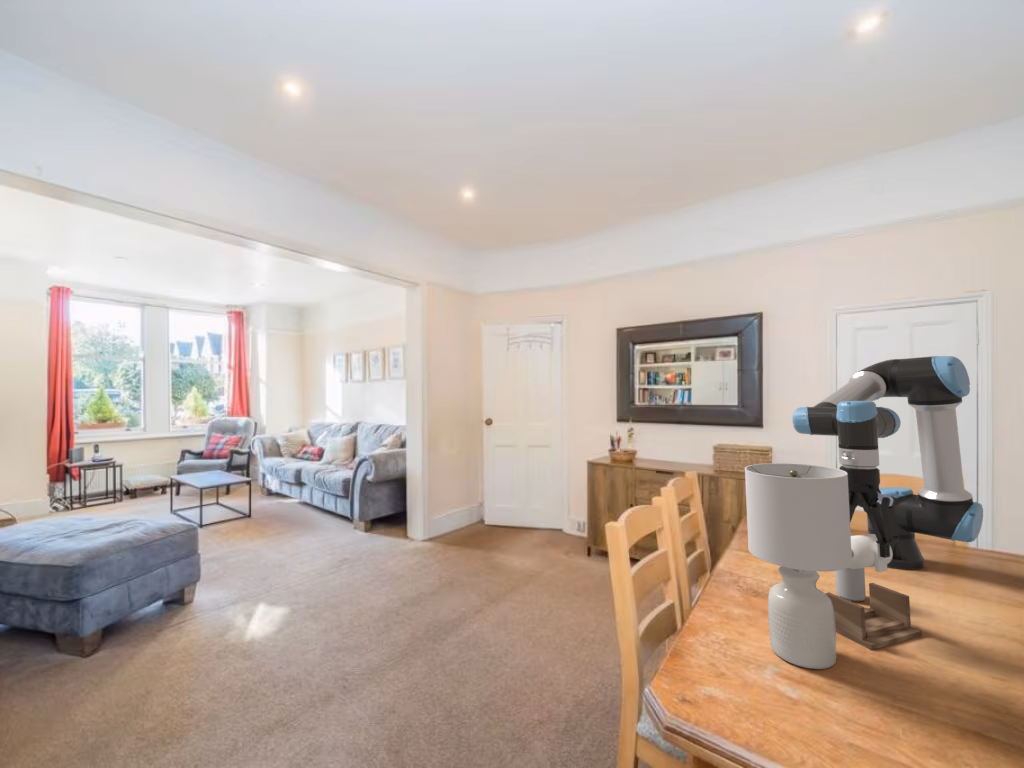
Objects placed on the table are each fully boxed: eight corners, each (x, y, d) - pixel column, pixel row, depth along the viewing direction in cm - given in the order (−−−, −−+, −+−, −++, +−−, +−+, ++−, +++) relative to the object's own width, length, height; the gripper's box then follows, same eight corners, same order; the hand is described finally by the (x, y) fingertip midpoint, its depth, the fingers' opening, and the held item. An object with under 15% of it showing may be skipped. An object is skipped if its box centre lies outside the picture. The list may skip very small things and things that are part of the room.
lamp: (737, 631, 106) (729, 464, 107) (818, 630, 106) (810, 462, 106) (782, 683, 87) (773, 479, 88) (882, 681, 87) (871, 476, 88)
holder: (866, 611, 113) (864, 579, 114) (921, 635, 102) (919, 599, 102) (818, 623, 109) (816, 589, 109) (871, 649, 97) (869, 612, 97)
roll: (861, 559, 110) (861, 530, 111) (892, 570, 104) (892, 539, 104) (833, 562, 108) (833, 532, 108) (863, 573, 101) (864, 542, 101)
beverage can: (871, 603, 117) (869, 557, 118) (843, 602, 119) (841, 556, 119) (857, 592, 124) (855, 548, 124) (831, 591, 125) (829, 547, 125)
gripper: (807, 461, 115) (812, 553, 114) (894, 474, 96) (899, 583, 95) (829, 459, 117) (834, 549, 116) (918, 471, 98) (924, 578, 97)
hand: (863, 564), depth 106 cm, fingers closed on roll, 7 cm apart
